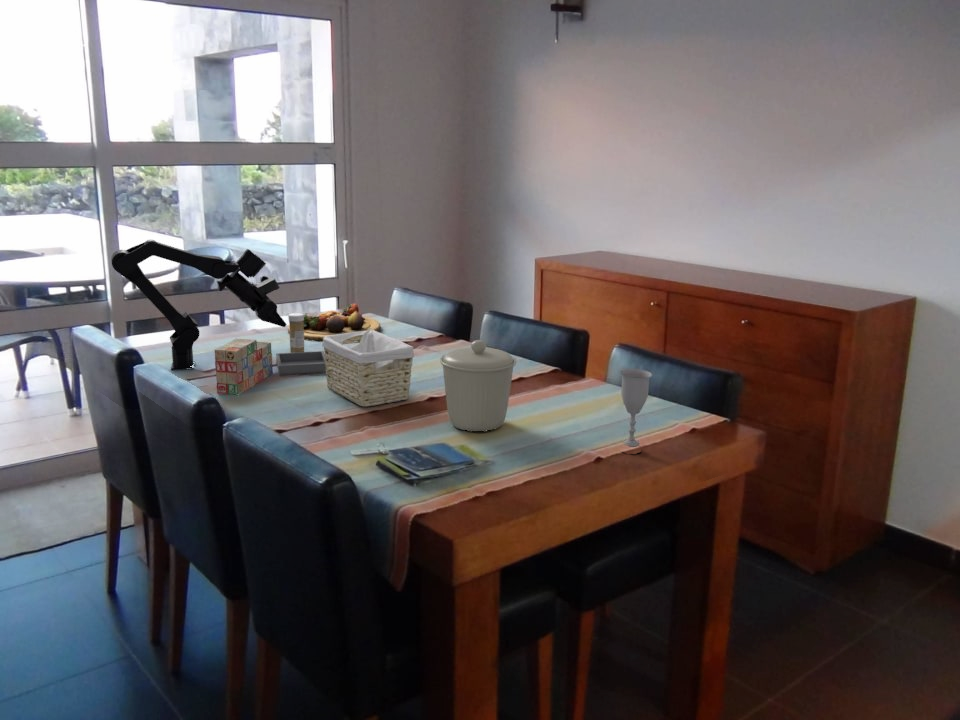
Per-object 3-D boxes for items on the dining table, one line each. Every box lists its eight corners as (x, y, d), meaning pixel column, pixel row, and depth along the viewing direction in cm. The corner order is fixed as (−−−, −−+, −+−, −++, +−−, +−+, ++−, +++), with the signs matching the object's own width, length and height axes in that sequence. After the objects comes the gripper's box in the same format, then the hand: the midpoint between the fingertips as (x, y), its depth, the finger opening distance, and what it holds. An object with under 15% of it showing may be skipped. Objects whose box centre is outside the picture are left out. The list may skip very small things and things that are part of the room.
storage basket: (321, 387, 232) (319, 334, 228) (374, 378, 241) (373, 328, 237) (360, 411, 213) (359, 354, 209) (416, 401, 222) (416, 346, 218)
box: (276, 363, 254) (276, 353, 253) (323, 360, 258) (323, 351, 257) (279, 376, 241) (278, 365, 240) (328, 373, 245) (328, 363, 244)
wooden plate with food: (335, 317, 318) (334, 295, 315) (399, 329, 299) (398, 306, 297) (268, 334, 293) (266, 310, 290) (333, 348, 275) (332, 323, 272)
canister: (442, 412, 213) (442, 330, 208) (514, 414, 213) (516, 332, 207) (436, 437, 196) (437, 349, 190) (514, 439, 195) (517, 351, 190)
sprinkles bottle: (288, 355, 262) (286, 313, 259) (302, 354, 264) (301, 312, 261) (292, 359, 258) (290, 316, 255) (307, 357, 260) (305, 314, 257)
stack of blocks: (253, 372, 245) (250, 330, 242) (273, 373, 244) (271, 332, 240) (216, 393, 225) (213, 348, 221) (238, 395, 223) (236, 350, 220)
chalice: (611, 444, 193) (616, 368, 188) (641, 444, 194) (646, 368, 189) (619, 456, 186) (624, 378, 181) (649, 456, 187) (655, 378, 182)
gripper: (267, 274, 242) (307, 308, 249) (255, 264, 258) (293, 297, 266) (240, 303, 241) (281, 337, 248) (231, 291, 257) (269, 323, 265)
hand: (282, 322), depth 257 cm, fingers open, 9 cm apart
